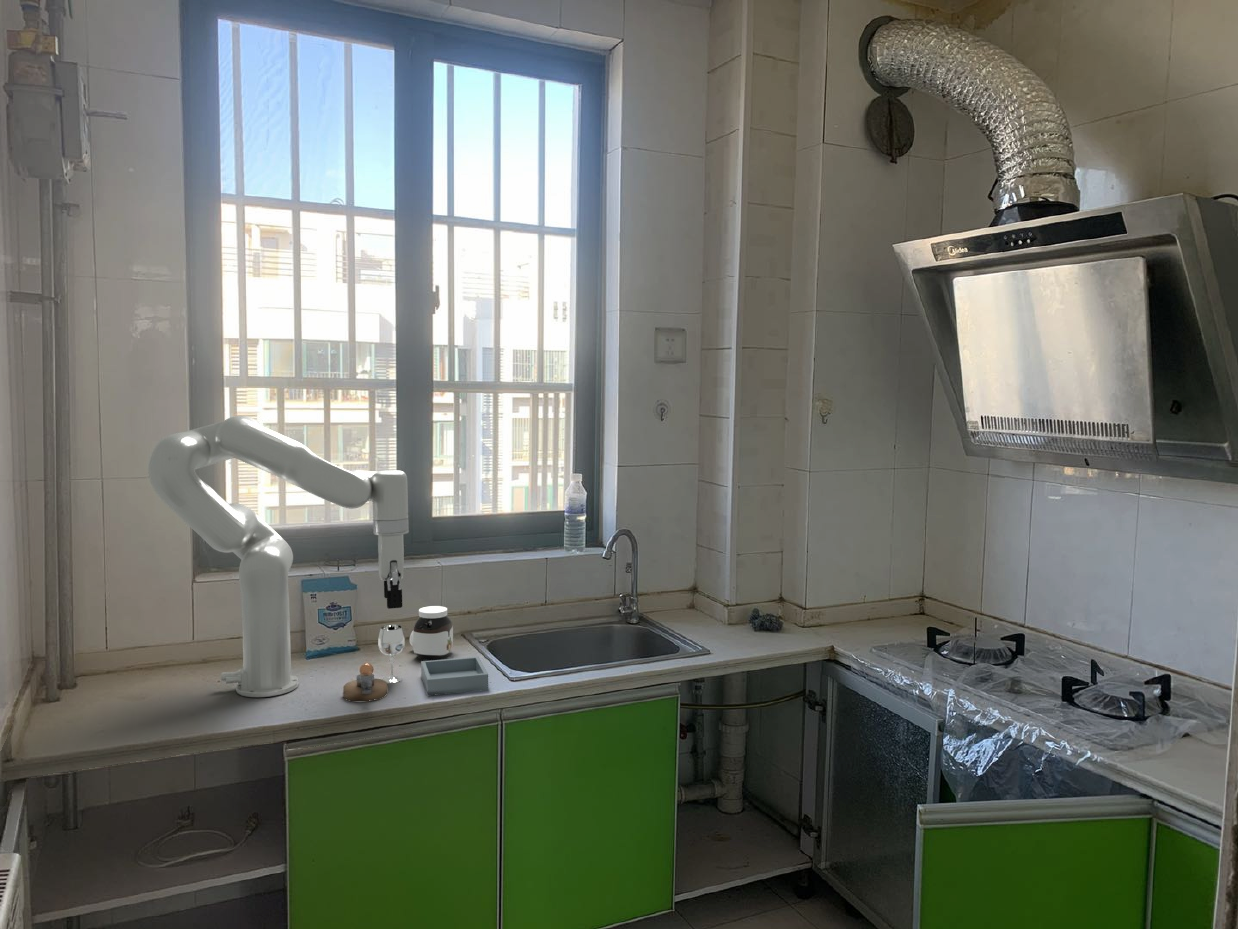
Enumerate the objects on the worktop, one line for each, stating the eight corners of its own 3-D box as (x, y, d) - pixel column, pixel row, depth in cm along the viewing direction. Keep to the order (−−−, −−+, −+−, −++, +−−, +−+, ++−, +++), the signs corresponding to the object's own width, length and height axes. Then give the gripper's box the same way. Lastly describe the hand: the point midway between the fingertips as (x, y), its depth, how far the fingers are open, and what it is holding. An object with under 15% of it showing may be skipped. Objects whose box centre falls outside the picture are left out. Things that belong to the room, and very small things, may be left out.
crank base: (343, 704, 180) (343, 694, 180) (343, 689, 189) (343, 680, 189) (388, 699, 183) (388, 690, 183) (386, 685, 192) (385, 676, 191)
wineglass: (383, 675, 198) (382, 623, 197) (408, 676, 198) (407, 624, 197) (375, 684, 193) (374, 630, 192) (401, 684, 192) (400, 631, 191)
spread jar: (436, 664, 207) (436, 616, 206) (395, 658, 211) (394, 611, 210) (461, 650, 218) (461, 604, 217) (421, 645, 222) (421, 600, 221)
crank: (356, 682, 187) (356, 651, 186) (373, 681, 188) (373, 650, 187) (358, 698, 177) (357, 666, 177) (376, 697, 178) (375, 664, 178)
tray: (427, 695, 186) (427, 679, 185) (421, 676, 198) (421, 661, 198) (488, 689, 190) (488, 674, 189) (478, 671, 202) (478, 656, 202)
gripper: (371, 521, 199) (373, 595, 201) (375, 533, 183) (377, 613, 185) (405, 520, 202) (407, 592, 203) (412, 531, 185) (414, 610, 187)
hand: (393, 602), depth 194 cm, fingers open, 9 cm apart
